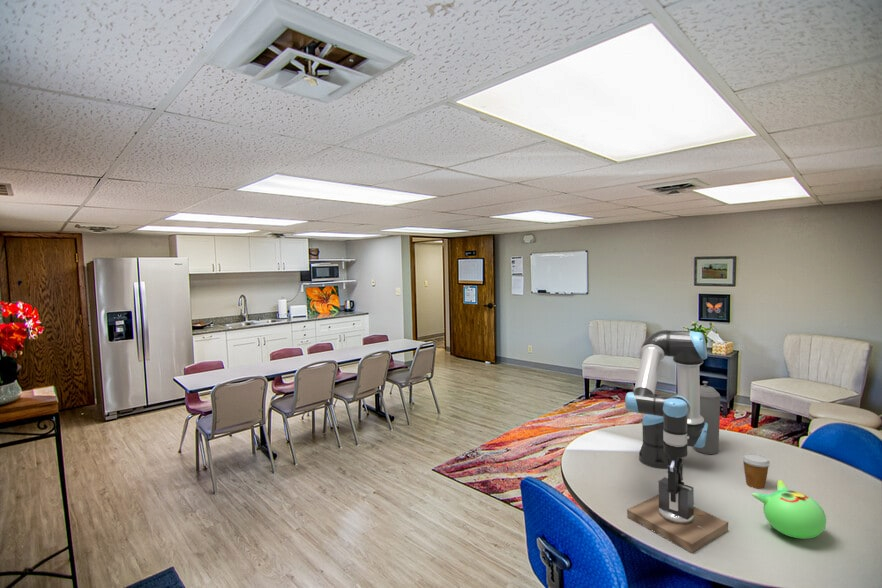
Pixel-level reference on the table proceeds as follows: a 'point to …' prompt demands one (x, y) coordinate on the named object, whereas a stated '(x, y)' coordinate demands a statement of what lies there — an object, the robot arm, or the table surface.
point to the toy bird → (793, 512)
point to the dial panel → (679, 525)
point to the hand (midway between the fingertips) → (675, 505)
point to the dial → (684, 503)
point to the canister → (710, 418)
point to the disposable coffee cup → (755, 470)
